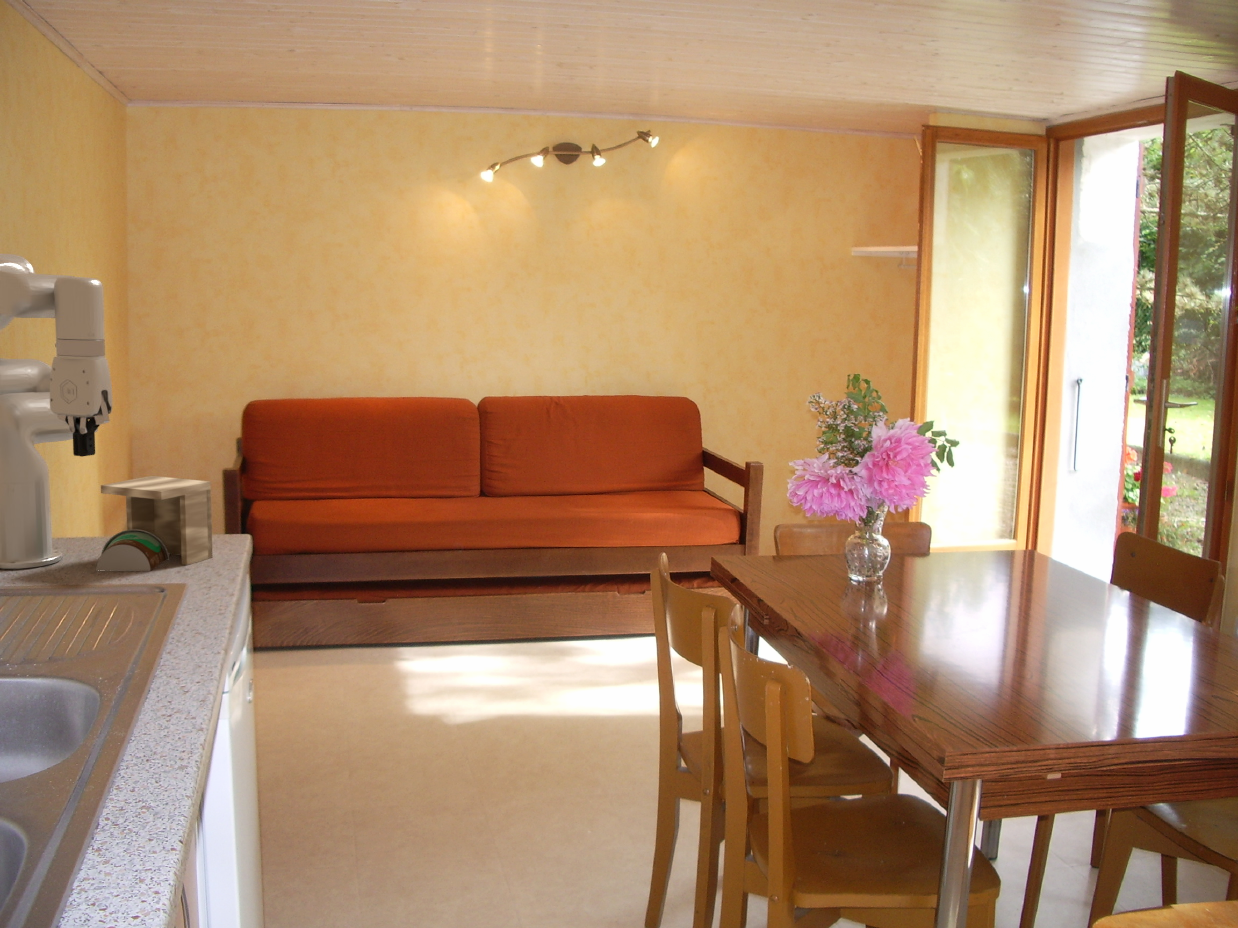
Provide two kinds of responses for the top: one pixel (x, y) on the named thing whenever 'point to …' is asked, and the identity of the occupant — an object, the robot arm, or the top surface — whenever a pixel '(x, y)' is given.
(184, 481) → the wooden stand
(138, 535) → the food container
